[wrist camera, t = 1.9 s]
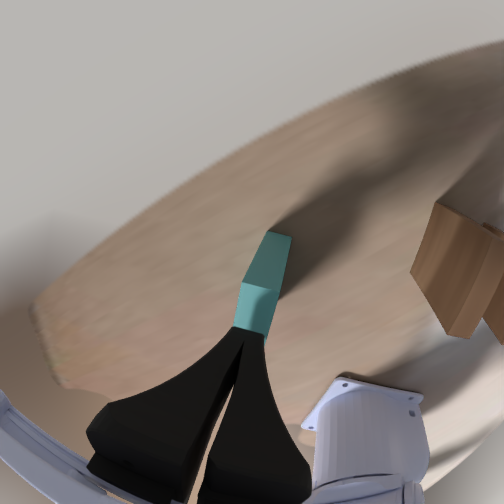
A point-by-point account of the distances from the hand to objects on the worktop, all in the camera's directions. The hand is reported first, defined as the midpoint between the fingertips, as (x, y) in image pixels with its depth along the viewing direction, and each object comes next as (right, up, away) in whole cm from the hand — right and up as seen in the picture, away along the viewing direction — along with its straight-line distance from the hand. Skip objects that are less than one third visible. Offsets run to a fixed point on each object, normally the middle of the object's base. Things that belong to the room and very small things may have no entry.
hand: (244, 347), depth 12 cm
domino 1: (+2, +3, +7) cm, 8 cm away
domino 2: (+12, +5, +4) cm, 14 cm away
